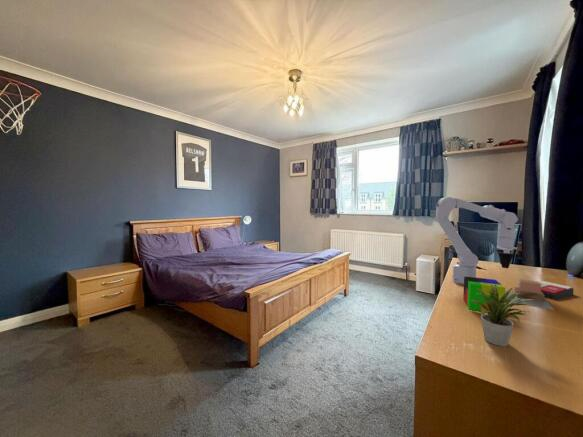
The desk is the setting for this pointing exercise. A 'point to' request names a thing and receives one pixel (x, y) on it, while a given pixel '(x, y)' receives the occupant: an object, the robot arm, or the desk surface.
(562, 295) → the calculator
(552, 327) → the desk surface
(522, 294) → the walnut base brick
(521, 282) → the terracotta brick
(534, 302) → the baseplate
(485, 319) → the house plant
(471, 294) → the puzzle toy
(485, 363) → the desk surface
